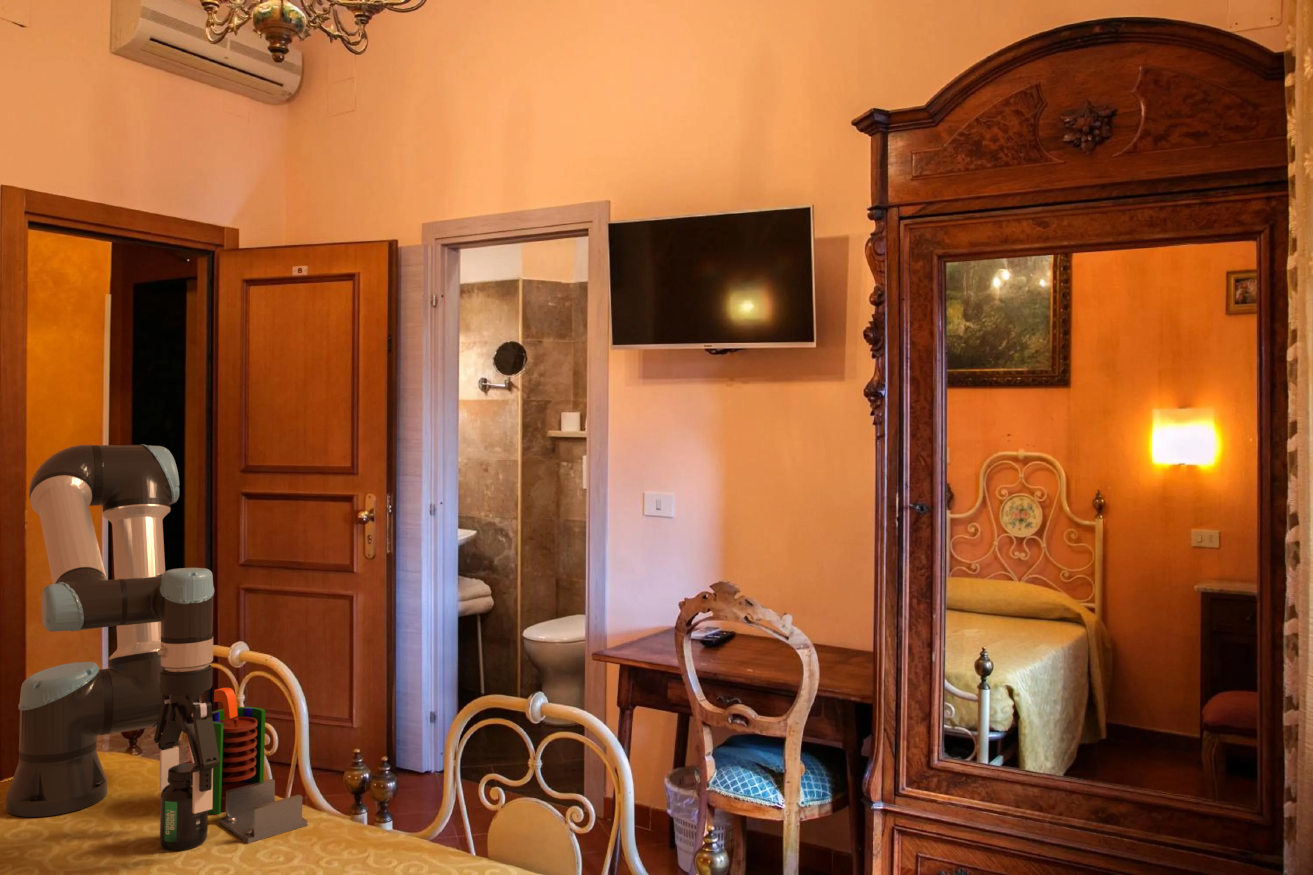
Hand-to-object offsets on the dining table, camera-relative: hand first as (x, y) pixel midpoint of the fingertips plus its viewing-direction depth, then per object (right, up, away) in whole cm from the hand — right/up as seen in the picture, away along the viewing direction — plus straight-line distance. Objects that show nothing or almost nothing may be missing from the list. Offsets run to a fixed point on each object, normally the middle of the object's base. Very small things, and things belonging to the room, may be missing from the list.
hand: (185, 799), depth 151 cm
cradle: (+9, -7, +8) cm, 14 cm away
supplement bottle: (0, -7, 0) cm, 7 cm away
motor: (0, -7, +17) cm, 18 cm away
